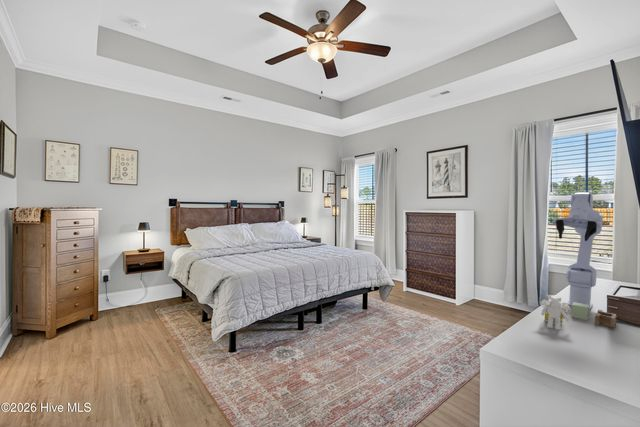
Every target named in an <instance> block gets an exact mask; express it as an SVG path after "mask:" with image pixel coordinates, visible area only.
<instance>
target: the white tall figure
mask: <svg viewBox="0 0 640 427" xmlns="http://www.w3.org/2000/svg"><path fill="white" fill-rule="evenodd" d="M547 295H548V296H549V295H550V294H547ZM551 295H552V296H551V297H552V298H553V297H555V298H558V299H559V301H561V305H562V307H563V304H562V303H563V302H562V297H561V296H558V295H555V294H551ZM552 298H549V297H547V300H546V301H547V303H548V304H549V300H550V299H552ZM546 312H547V311H546ZM563 318H564V316H563V315H562V313H561V315H560V325H562V324H563ZM548 319H549V314H548V312H547V314H546V313H544V321H545V322H547V323H548ZM555 324H556V321H555V318H554V319H553V325H555Z"/></svg>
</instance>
